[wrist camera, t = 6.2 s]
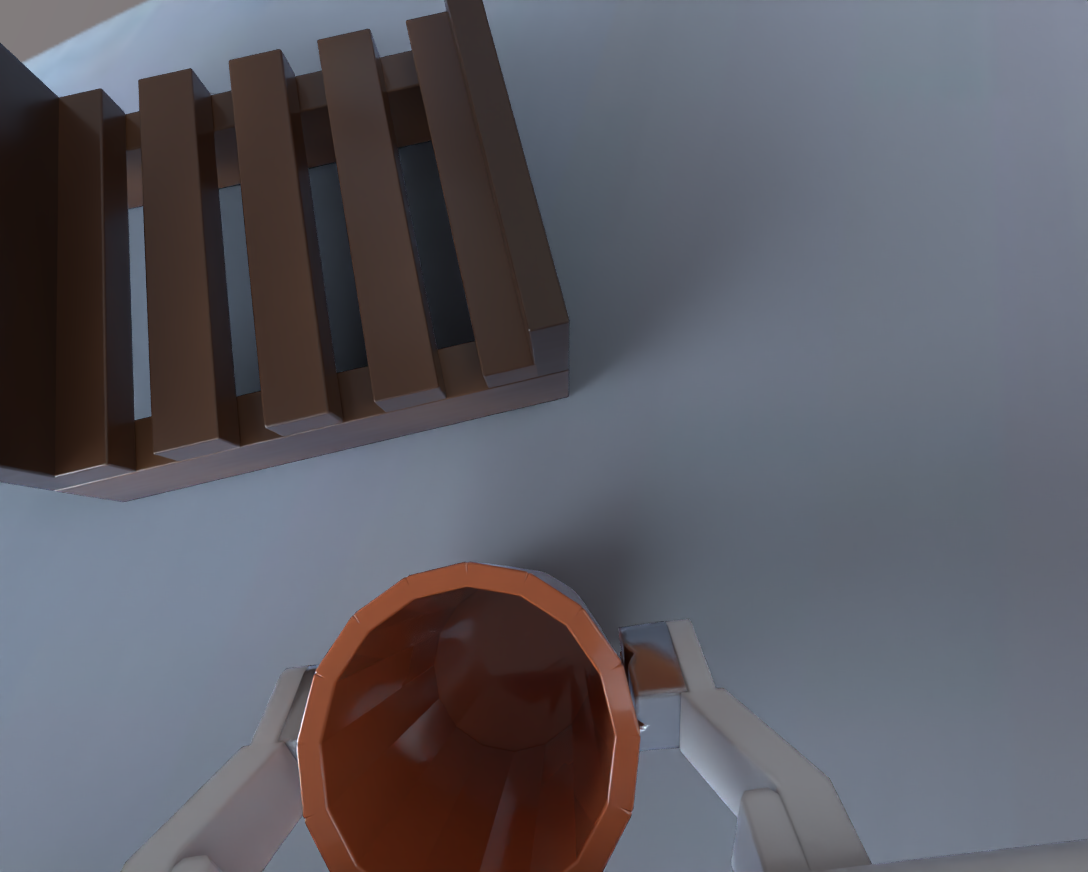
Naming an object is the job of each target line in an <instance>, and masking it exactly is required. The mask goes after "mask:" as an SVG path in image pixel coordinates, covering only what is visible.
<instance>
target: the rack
mask: <svg viewBox="0 0 1088 872" xmlns="http://www.w3.org/2000/svg"><path fill="white" fill-rule="evenodd" d="M444 2H445V7H446V12H442V13H437V14H433V15H428V16H424V17H419V18H415V19H410V20H407V21H406V25H407V30H408V35H409V39H410V44H411V48H412V51H407V52H403V53H398V54H394V55H389V56H385V57H380V55H379V52H378V50H377V47H376V44H375V41H374V39H373V36H372V33H371V30H370V29H365V30H360V31H356V32H351V33H347V34H342V35H338V36H333V37H329V38H324V39H320V40H317V43H318V49H319V56H320V62H321V68H322V71H317V72H313V73H308V74H304V75H300V76H295V74H294V72H293V70H292V68H291V67H290V65H289V63H288V61H287V59H286V57H285V56H284V54H283V52H282V51H281V50H280V49H277V50H273V51H268V52H264V53H259V54H255V55H250V56H246V57H241V58H237V59H232V60H229V71H230V81H231V91H228V92H223V93H219V94H214V95H210V93H209V91H208V90H207V89H206V87H205V86H204V85H203V83H202V82H201V81H200V79H199V78H198V77H197V75H196V74H195V73H194V71H193V70H192V69H191V68H189V69H185V70H180V71H176V72H171V73H167V74H162V75H158V76H153V77H149V78H144V79H140V80H139V81H138V85H139V111H138V112H134V113H129V114H125V113H124V111H123V110H122V109H121V108H120V107H119V106H118V105H117V104H116V103H115V102H114V101H113V100H112V99H111V98H110V97H109V96H108V95H107V94H106V93H105V92H104V91H103V90H102V89H95V90H91V91H86V92H82V93H77V94H73V95H68V96H64V97H58V96H57V95H56V94H55V93H53V92H52V91H51V90H50V89H49V88H48V87H47V86H46V85H45V84H44V83H43V82H42V81H41V80H40V79H39V78H37V77H36V76H35V75H34V74H33V73H32V72H31V71H30V70H29V69H28V68H27V67H26V66H25V65H24V64H22V63H21V62H20V61H19V60H18V59H17V58H16V57H15V56H14V55H13V54H12V53H11V52H10V51H9V50H7V49H6V48H5V47H4V46H3V45H2V44H1V43H0V482H2V483H8V484H14V485H21V486H27V487H33V488H40V489H46V490H52V491H54V490H55V491H57V492H63V493H70V494H76V495H82V496H88V497H95V498H101V499H107V500H114V501H120V502H126V501H130V500H134V499H138V498H143V497H147V496H151V495H155V494H160V493H164V492H168V491H172V490H176V489H181V488H185V487H189V486H193V485H198V484H202V483H206V482H210V481H214V480H219V479H223V478H227V477H231V476H236V475H240V474H244V473H248V472H252V471H257V470H261V469H265V468H269V467H274V466H278V465H282V464H286V463H290V462H295V461H299V460H303V459H307V458H312V457H316V456H320V455H324V454H329V453H333V452H337V451H341V450H345V449H350V448H354V447H358V446H362V445H367V444H371V443H375V442H379V441H383V440H388V439H392V438H396V437H400V436H405V435H409V434H413V433H417V432H421V431H426V430H430V429H434V428H438V427H443V426H447V425H451V424H455V423H459V422H464V421H468V420H472V419H476V418H481V417H485V416H489V415H493V414H498V413H502V412H506V411H510V410H514V409H519V408H523V407H527V406H531V405H536V404H540V403H544V402H548V401H552V400H557V399H561V398H565V397H568V396H569V328H570V320H569V316H568V313H567V309H566V305H565V302H564V298H563V294H562V291H561V287H560V283H559V280H558V276H557V272H556V269H555V265H554V261H553V258H552V254H551V250H550V247H549V243H548V239H547V236H546V232H545V228H544V225H543V221H542V217H541V214H540V210H539V206H538V203H537V199H536V195H535V192H534V188H533V184H532V181H531V177H530V173H529V170H528V166H527V162H526V159H525V155H524V151H523V148H522V144H521V140H520V137H519V133H518V129H517V126H516V122H515V118H514V115H513V111H512V107H511V104H510V100H509V96H508V93H507V89H506V85H505V82H504V78H503V74H502V71H501V67H500V63H499V60H498V56H497V52H496V49H495V45H494V41H493V38H492V34H491V30H490V27H489V23H488V19H487V16H486V12H485V8H484V5H483V1H482V0H444ZM431 140H432V145H433V149H434V154H435V158H436V163H437V168H438V172H439V177H440V181H441V186H442V191H443V195H444V200H445V204H446V209H447V214H448V218H449V223H450V227H451V232H452V236H453V241H454V246H455V250H456V255H457V259H458V264H459V269H460V273H461V278H462V282H463V287H464V291H465V296H466V301H467V305H468V310H469V314H470V319H471V324H472V328H473V333H474V337H475V341H472V342H467V343H463V344H459V345H455V346H450V347H446V348H442V349H437V345H436V340H435V335H434V329H433V324H432V319H431V314H430V309H429V304H428V299H427V294H426V289H425V284H424V279H423V273H422V268H421V263H420V258H419V253H418V248H417V243H416V238H415V233H414V228H413V223H412V217H411V212H410V207H409V202H408V197H407V192H406V187H405V182H404V177H403V172H402V166H401V161H400V156H399V151H398V148H400V147H405V146H409V145H414V144H418V143H422V142H427V141H431ZM334 162H336V164H337V170H338V176H339V183H340V189H341V195H342V202H343V208H344V214H345V221H346V227H347V234H348V240H349V246H350V253H351V259H352V265H353V272H354V278H355V284H356V291H357V297H358V303H359V310H360V316H361V322H362V329H363V335H364V342H365V348H366V354H367V361H368V366H365V367H360V368H356V369H352V370H348V371H343V372H339V373H337V372H336V365H335V358H334V350H333V343H332V336H331V329H330V322H329V315H328V307H327V300H326V293H325V286H324V279H323V272H322V265H321V257H320V250H319V243H318V236H317V229H316V222H315V214H314V207H313V200H312V193H311V186H310V179H309V172H308V168H312V167H317V166H321V165H325V164H330V163H334ZM237 184H241V193H242V203H243V213H244V224H245V234H246V244H247V254H248V264H249V274H250V285H251V295H252V305H253V315H254V325H255V336H256V346H257V356H258V366H259V376H260V386H261V391H258V392H254V393H249V394H245V395H241V396H237V397H236V389H235V377H234V365H233V353H232V342H231V330H230V318H229V306H228V294H227V283H226V271H225V259H224V247H223V235H222V224H221V212H220V200H219V188H224V187H228V186H233V185H237ZM140 206H143V212H144V237H145V262H146V288H147V313H148V338H149V364H150V389H151V414H152V416H151V417H147V418H142V419H138V420H134V388H133V355H132V322H131V289H130V257H129V224H128V209H131V208H135V207H140Z"/></svg>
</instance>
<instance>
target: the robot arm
mask: <svg viewBox="0 0 1088 872" xmlns="http://www.w3.org/2000/svg"><path fill="white" fill-rule="evenodd" d="M619 641H620V646H621V652H620V659H621V662H622V664H623V666H624V669H625V673H626V677H627V681H628V685H629V689H630V693H631V696H632V700H633V704H634V708H635V712H636V716H637V720H638V724H639V728H640V737H641V742H640V751H648V750H659V749H669V748H680V751H681V752H682V753H683V755H684V756H685V757H686V758H687V759H688V760H689V762H690V763H691V764H692V765H693V766H694V767H695V769H696V770H697V771H698V772H699V773H700V775H701V776H702V777H703V778H704V779H705V780H706V782H707V783H708V784H709V785H710V786H711V787H712V789H713V790H714V791H715V792H716V793H717V795H718V796H719V797H720V798H721V799H722V800H723V802H724V803H725V804H726V805H727V806H728V807H729V809H730V810H731V811H732V812H733V813H734V815H735V816H736V817H737V818H738V820H737V826H736V833H735V839H734V846H733V853H732V859H731V865H732V868H733V871H734V872H1088V839H1083V840H1074V841H1066V842H1057V843H1049V844H1040V845H1032V846H1023V847H1015V848H1006V849H998V850H989V851H981V852H972V853H964V854H955V855H947V856H938V857H930V858H921V859H913V860H904V861H896V862H887V863H879V864H872V863H871V861H870V859H869V857H868V855H867V853H866V851H865V849H864V847H863V845H862V843H861V841H860V839H859V837H858V835H857V833H856V831H855V829H854V827H853V825H852V823H851V821H850V819H849V817H848V815H847V813H846V811H845V809H844V807H843V805H842V803H841V801H840V799H839V797H838V794H837V792H836V790H835V788H834V786H833V784H832V782H831V780H830V778H828V777H827V776H826V775H825V774H824V773H823V772H821V771H820V770H819V769H818V768H817V767H816V766H814V765H813V764H812V763H811V762H810V761H809V760H807V759H806V758H805V757H804V756H803V755H802V754H800V753H799V752H798V751H797V750H796V749H795V748H793V747H792V746H791V745H790V744H789V743H788V742H786V741H785V740H784V739H783V738H782V737H781V736H779V735H778V734H777V733H776V732H775V731H774V730H772V729H771V728H770V727H769V726H768V725H767V724H765V723H764V722H763V721H762V720H761V719H760V718H758V717H757V716H756V715H755V714H754V713H753V712H751V711H750V710H749V709H748V708H747V707H746V706H744V705H743V704H742V703H741V702H740V701H739V700H737V699H736V698H735V697H734V696H733V695H732V694H730V693H729V692H728V691H727V690H726V689H724V688H716V686H715V683H714V681H713V678H712V675H711V672H710V670H709V667H708V664H707V662H706V659H705V656H704V654H703V651H702V648H701V646H700V643H699V640H698V638H697V635H696V632H695V630H694V627H693V624H692V622H691V621H690V620H689V619H682V620H674V621H666V622H664V621H661V622H654V623H647V624H640V625H633V626H625V627H619ZM318 666H319V665H309V666H301V667H292V668H286V669H285V670H284V671H283V673H282V674H281V675H280V676H279V679H278V681H277V683H276V686H275V688H274V690H273V693H272V695H271V697H270V700H269V702H268V704H267V707H266V709H265V711H264V713H263V716H262V718H261V720H260V723H259V725H258V727H257V730H256V732H255V734H254V737H253V739H252V741H251V744H250V746H243V747H242V748H241V749H240V750H239V751H238V752H237V753H236V754H235V755H234V756H233V757H232V758H230V759H229V760H228V761H227V762H226V763H225V764H224V765H223V766H222V767H221V768H220V769H219V770H218V771H217V772H216V773H215V774H214V775H213V776H212V777H211V778H210V779H209V780H208V781H207V782H206V783H205V784H204V785H203V786H202V787H201V788H200V789H199V790H198V791H197V792H196V793H195V794H194V795H193V796H192V797H191V798H190V799H189V800H188V801H187V802H186V803H185V804H184V805H183V806H182V807H181V808H180V809H179V810H178V811H177V812H176V813H175V814H174V815H173V816H172V817H171V818H170V819H169V820H168V821H167V822H166V823H165V824H164V825H162V826H161V827H160V828H159V829H158V830H157V831H156V832H155V833H154V834H153V835H152V836H151V837H150V838H149V839H148V840H147V841H146V842H145V843H144V844H143V845H142V846H141V847H140V848H139V849H138V850H137V851H136V852H135V853H134V854H133V855H132V856H131V857H130V858H129V859H128V860H127V861H126V862H125V864H124V866H123V868H122V870H121V871H120V872H262V871H263V869H264V868H265V867H266V865H267V864H268V862H269V861H270V860H271V858H272V857H273V855H274V854H275V853H276V851H277V850H278V849H279V847H280V846H281V844H282V843H283V842H284V840H285V839H286V837H287V836H288V835H289V833H290V832H291V830H292V829H293V828H294V826H295V825H296V823H297V822H298V821H299V819H300V818H301V816H302V815H303V810H302V800H301V789H300V779H299V769H298V759H297V749H296V747H297V744H298V743H297V739H298V735H299V731H300V727H301V723H302V719H303V715H304V711H305V707H306V703H307V699H308V695H309V691H310V687H311V683H312V679H313V676H314V674H315V671H316V669H317V667H318Z"/></svg>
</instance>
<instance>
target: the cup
mask: <svg viewBox="0 0 1088 872" xmlns="http://www.w3.org/2000/svg"><path fill="white" fill-rule="evenodd" d="M640 742H641V737H640V728H639V724H638V720H637V716H636V712H635V708H634V704H633V700H632V696H631V693H630V689H629V685H628V681H627V677H626V673H625V669H624V666H623V664H622V662H621V660H620V658H619V656H618V655H617V653H616V651H615V650H614V648H613V647H612V645H611V643H610V642H609V640H608V638H607V637H606V635H605V634H604V632H603V630H602V629H601V627H600V625H599V624H598V622H597V621H596V619H595V618H594V616H593V615H592V614H591V612H590V611H589V609H588V608H587V606H586V605H585V604H584V602H583V601H582V599H581V598H580V596H579V595H578V594H577V593H576V592H575V591H574V590H573V589H571V588H570V587H568V586H567V585H565V584H564V583H563V582H561V581H559V580H558V579H556V578H554V577H553V576H551V575H550V574H548V573H545V572H543V571H537V570H531V569H525V568H519V567H513V566H505V565H496V564H487V563H478V562H462V563H458V564H454V565H449V566H445V567H441V568H437V569H433V570H429V571H425V572H421V573H416V574H412V575H409V576H408V577H405V578H403V579H401V580H400V581H399V582H397V583H396V584H394V585H393V586H392V587H390V588H389V589H388V590H386V591H385V592H383V593H382V594H381V595H379V596H378V597H376V598H375V599H374V600H372V601H371V602H369V603H368V604H367V605H365V606H364V607H362V608H361V609H360V610H358V611H357V612H356V613H355V614H354V615H353V616H352V617H351V618H350V620H349V621H348V623H347V624H346V626H345V627H344V628H343V630H342V631H341V633H340V634H339V636H338V637H337V639H336V640H335V642H334V643H333V645H332V646H331V648H330V649H329V651H328V652H327V654H326V655H325V657H324V658H323V660H322V661H321V663H320V664H319V666H318V667H317V669H316V671H315V674H314V676H313V679H312V683H311V687H310V691H309V695H308V699H307V703H306V707H305V711H304V715H303V719H302V723H301V727H300V731H299V735H298V739H297V743H298V744H297V747H296V749H297V759H298V769H299V779H300V789H301V800H302V810H303V817H304V818H306V819H305V824H306V826H307V828H308V830H309V832H310V834H311V836H312V838H313V840H314V842H315V844H316V846H317V848H318V850H319V852H320V854H321V856H322V858H323V859H324V861H325V863H326V865H327V867H328V869H329V871H330V872H603V871H604V869H605V867H606V865H607V863H608V861H609V859H610V857H611V855H612V853H613V851H614V849H615V847H616V845H617V843H618V841H619V839H620V837H621V835H622V833H623V831H624V829H625V827H626V825H627V823H628V822H629V820H630V818H631V815H632V811H633V808H634V799H635V790H636V780H637V771H638V761H639V752H640Z"/></svg>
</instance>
